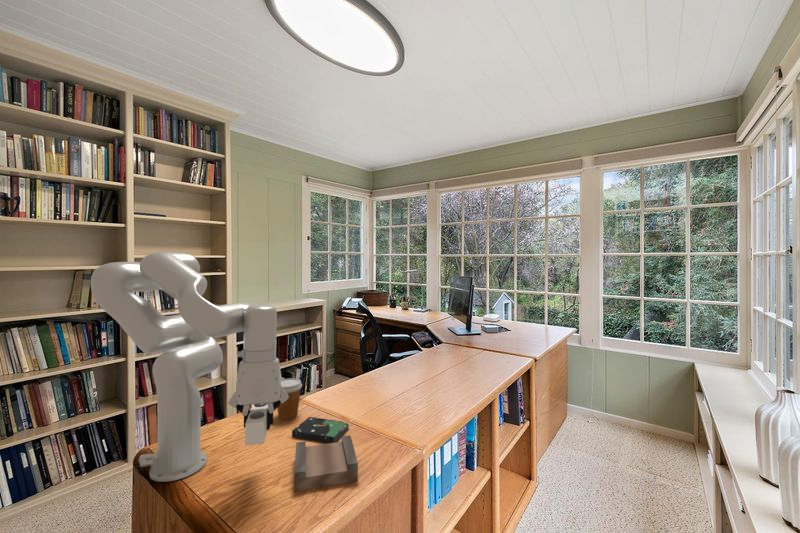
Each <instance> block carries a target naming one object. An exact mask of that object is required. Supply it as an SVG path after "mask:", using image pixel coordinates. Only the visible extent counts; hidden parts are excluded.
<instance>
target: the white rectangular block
mask: <svg viewBox="0 0 800 533" xmlns="http://www.w3.org/2000/svg"><path fill="white" fill-rule="evenodd" d="M267 412H268V404H267V403H263V404H252V405H251V407H250V413H249V416H248V418H247V421H246V423H245V427H244V431H245V435H244V447H247V446H254V445H263V444H265V440H266V435H267V431H268V430H267Z"/></svg>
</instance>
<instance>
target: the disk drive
mask: <svg viewBox="0 0 800 533" xmlns="http://www.w3.org/2000/svg"><path fill="white" fill-rule="evenodd" d="M348 430H349V424H348V423H347V422H344V421H341V420H333V419H328V418H327V419H325V418H320V417H313V416H308V417H307V418H306V419H304V420H303V421H302V422H301V423H299V425H298V426H297V427H294V428H293V429H292V430H291V438H294V439H297V440H298V439H299V440H305V441H310V442H316V443H321V444H329V443H336V442H339V440H340V439H342V436H345V433H347V431H348Z"/></svg>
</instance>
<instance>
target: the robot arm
mask: <svg viewBox="0 0 800 533" xmlns="http://www.w3.org/2000/svg"><path fill="white" fill-rule="evenodd" d="M200 271H201V266H200V262H199V261H198V260H197V258H195V256H193V255H191V254H189V253H186V252H176V251H175V252H174V251H173V252H172V251H168V252H167V251H155V252H151V253H149V254H146V255H145V256H144V257H143V258H142V259H141V260H140V261H116V262H115V261H114V262H113V261H112V262H108V263H105V264H102V265H100V266H98V267H97V268H95V269H94V270H93V272H92V275H91V277H90V289H91V290H90V291H91V294H92V297H93V298H94V300H95V302H96V303H97V305H98V306H99V307H100V308H101V310H103V311H105V313H107V315H109V316H110V317H112V319H113V320H115V321H116V322H117V324H118V325H119V326H120V327H121V328H122V329H123V331H124V332H125V333H126V334H127V335H128V336H127V337H129V338H130V339H131V341H132V342H133V343H134V344H135V345H136V346H137V348H138V349H140V350H141V351H142V352H143V353H145V354H147V355H157V354H159V355H158V356H157V358H155V361H154V363H153V365H152V377H153V381H154V383H155V384H154V385H155V389H156V398H157V399H156V403H157V405H156V406H157V409H156V412H157V418H156V419H157V432H156V434H157V437H156V438H157V439H156V440H157V442H156V444H157V445H156V448H157V450H156V451H155V452H154V453H146V454H141V455H140V456H139V458H138V463H139V467H140V468H143V467H148V466H150V470H149V472H148V473H149V479H151V480H152V481H155V482H159V483H160V482H161V483H166V482H168V483H169V482H172V481H173V482H174V481H177V480H178V481H179V480H181V479H184V478H187V477H189V476H191V475H193V474H195V473H197V472H199V471H200V470H201V469H203V467H204V466H205V465H206V463H207V460H208V454H207V453H206V452H205V451H203V450H201V441H202V440H201V424H202V423H201V419H202V416H201V414H202V412H201V409H202V407H201V406H202V404H201V402H202V399H201V392H200V391H199V389H198V387H197V385H195V380H196V379H198V378H200V377H203V376H205V375H207V374H210V373H212V372H214V371H217V369H218V368H220V366H221V365H222V363H223V360H224V354H223V350H222V348H221V346H220V345H219V343H218V342H217V341H216V339H218V338H222V337H226V336H230V335H233V334H237V333H241V332H243V349H242V350H240V351H237V352H236V357H237V358H241V359H242V360H241V361H240V362H239V364H238V367H237V368H238V369H237V376H236V382H235V383H236V384H235V385H236V386H235V392H234V393H233V394H232V395H231V397H230V399H229V400H228V402H227V405H229V406H231V407H232V408H233V409H234V408H235V409H236V411H238V412H240V413H241V415H242V416H243V428H245V423H246V421H247V418H248V416H249V413H250V410H251V406H252V405H253V404H263V403H267V404H268V412H267V431H269V430H270V429H271V425H273V424H274V413H275V411H276V410H278V407H279V406H280V404H282V403H283V402H285V401H286V400H288V397H289V396H288V394H287V393H286V391H285V390H284V388H283V387H282V386H281V380H282V372H281V366H280V364H281V363H280V359H279V358H278V357H277V330H278V329H277V327H278V326H277V322H278V321H277V318H278V313H277V312H278V310H277V308H276V307H275V306H274V305H271V304H252V303H249V302H234V303H226V304H220V305H219V304H218V305H215V304H213V303H211V302H210V301H208V300H207V299H206V298H204V297H203V295H204V294H205V292H206V290H207V288H208V280H207V279H206V277H205V276H204V275H202V274H200ZM153 291H163V292H164V293H166V294H167V295H169V296H170V297H172V298H173V299H174V300H175V301H176V302H177V310H178V312H179V314H174V315H164V314H162V313H160V311H159V310H157V309H156V307H155V306H154V305H153V304H152V303H151V302H150V301H149V300H147V299H145V298H144V297H141V295H140V296H139V295H137V294H136V293H140V292H153ZM215 338H216V339H215ZM280 395H281V397H280Z"/></svg>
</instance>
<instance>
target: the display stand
mask: <svg viewBox="0 0 800 533" xmlns="http://www.w3.org/2000/svg"><path fill="white" fill-rule="evenodd" d="M306 441H307V440H305V441H299V442H295V454H294V455H295V456H294V458H295V460H294V471H293V472H294V478H293V479H294V481H293V482H294V483H293V484H294V488H293V489H294V490H293V491H294V492H295V493H297V492H302V491H308V490H314V489H320V488H326V487H330V486H337V485H342V484H343V485H344V484H348V483H354V482H355V481H356V482H359V481H358V480H359V476H358V475H359V463H358V459H357V458H358V457H357V454H356V450H355V447H354V443H353V439H352V435H351V434H350V435H343V436H342V437H341V441H337V442H336V443H329V444H327V443H321V444H317V445H316V444H315V445H308V446H307V445H306Z"/></svg>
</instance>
